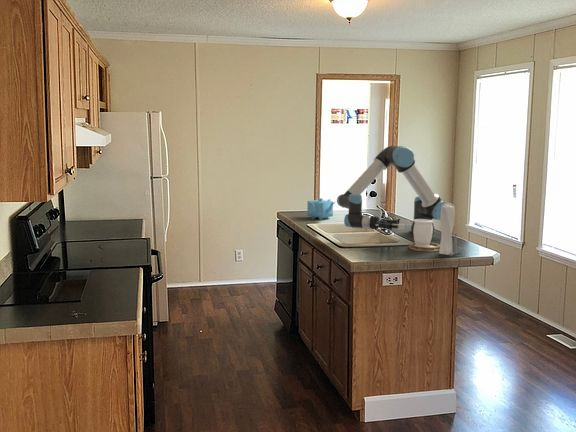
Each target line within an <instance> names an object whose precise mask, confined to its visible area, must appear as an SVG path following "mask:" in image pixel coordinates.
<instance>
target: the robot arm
mask: <svg viewBox="0 0 576 432" xmlns="http://www.w3.org/2000/svg"><path fill="white" fill-rule="evenodd" d="M415 164H416V160H415V154H414V152H413V150H412V149H411V148H410V147H407V146H403V145H401V146H398V145H389V146H387V147H385V148H384V149H382V151H380V152H379V153H378V154H377V155H376V156H375V157H374V158H373V162H372V163H370V165H369V166H368V167H367V169H366V170H365V171H364V172H363V173H362V174H361V175H360V176H359V177H358V178H357V180H356V181H355V182H354V183H352V185H351V186H350V187H349V188H348V189H347V190H346V191H345V192H344V193H343V194H340V195H338V197H337V198H336V203H337V205H338V206H339V207H341V208H344V209H348V214H345V215H344V219H343V220H344V221H343V223H344V226H345V227H346V228H352V229H354V228H356V229H364V230H369V229H371V230H378V229H379V228H380V229H385V230H389V231H392V230H403V231H404V230H405V226H409V227H410V229H409V230H410V231H409V232H410V233H412V234H414V233H413V230H414V224H415V222H414V220H415V219H429V220H437V221H440V220H441V207H442V205H443V204H444V203H447V201H445V200H442V199H441V197H440V196H439V194H437V193H435V192H434V191H433V190H432V188H431V187H430V185H429V184H428V183H427V181H426V179H425V178H424V176H423V175H422V174H421V172H420V170H419V169H418V168H417V166H416V165H415ZM391 166H393V167H394V168H395V169H396V171H397V172H398V173H401V174H402V175H403V176H404V178H405V179H406V180H407V181H408V183H409V185H410V186H411V188H412V189H413V191H414V192H415V193H416V194H417V196H415V198H414V202H413V205H414V206H413V221H412V220H406V219H405V220H402V219H400V218H398V219H385V218H383V219H380V217H379V216H376V215H365V214H364V215H363V214H362V213H363V212H362V211H363V208H362V207H363V205H362V204H363V199H362V197H363V196H362V193H363V192H365V190H366V189H367V188H368V187H369V186H370V185H371V183H373V182H374V180H375V179H377V177H378V176H379V175H380V174H381V173H382V172H383V171H386V170H387V169H388V168H389V167H391ZM443 206H444V205H443ZM445 206H446V205H445ZM411 221H412V222H411ZM411 223H412V224H411ZM434 225H435V224H434V222H433V223H432V226H433V234H435V233H436V228H435V226H434Z"/></svg>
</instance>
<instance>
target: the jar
mask: <svg viewBox="0 0 576 432" xmlns="http://www.w3.org/2000/svg"><path fill="white" fill-rule="evenodd" d="M413 220H414V219H413ZM414 222H415V224H414V230H413V233H412V234H413V239H414V242H415V243H416V244H415V246H417V247H425V248H428V247H430V245H429V244H430V242H431V243H432V238H433V234H434V233H433V226H432V223H433V224H434V219H432V220H429V219H415V220H414Z"/></svg>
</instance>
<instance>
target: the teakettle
mask: <svg viewBox="0 0 576 432" xmlns="http://www.w3.org/2000/svg"><path fill="white" fill-rule="evenodd" d="M336 203H337V201H336V202H334V201H331V198H330V199H326V200H324V199H323V197H321V198H318V199H313V200H307V208H306V209H307V210H306V211H307V213H306V214H307V217H310V219H311V220H315V219H316V218H317V217H318V220H319V221H323V220H324V219H325V220H329V219H330V217H333V216H334V214H333V213H334V204H336Z"/></svg>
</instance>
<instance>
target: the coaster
mask: <svg viewBox="0 0 576 432" xmlns="http://www.w3.org/2000/svg"><path fill="white" fill-rule="evenodd" d="M415 244H416V243H415V241H414V242H410V243H408V249H410V250H411V251H416V252H428V253H433V252H439V250H440V243H437V242H432V241H431V242H430V244H429V245H430V247H428V248H425V247H417V246H415Z"/></svg>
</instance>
